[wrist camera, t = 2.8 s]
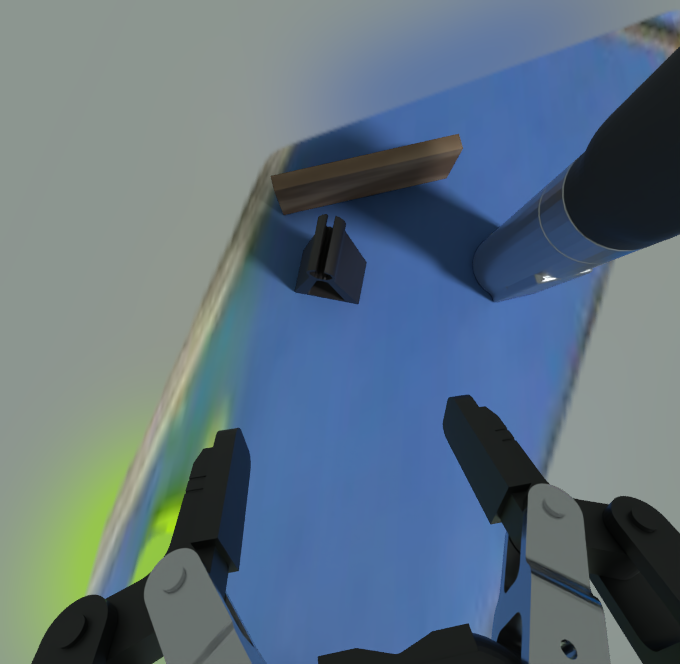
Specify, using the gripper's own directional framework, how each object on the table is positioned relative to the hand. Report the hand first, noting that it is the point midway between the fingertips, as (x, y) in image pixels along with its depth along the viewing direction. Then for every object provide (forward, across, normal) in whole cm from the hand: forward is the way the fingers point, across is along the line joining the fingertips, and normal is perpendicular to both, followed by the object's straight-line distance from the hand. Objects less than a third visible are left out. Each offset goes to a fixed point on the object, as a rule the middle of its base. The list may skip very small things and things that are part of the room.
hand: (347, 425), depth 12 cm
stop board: (+39, -9, -2) cm, 40 cm away
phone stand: (+31, -2, +8) cm, 32 cm away
